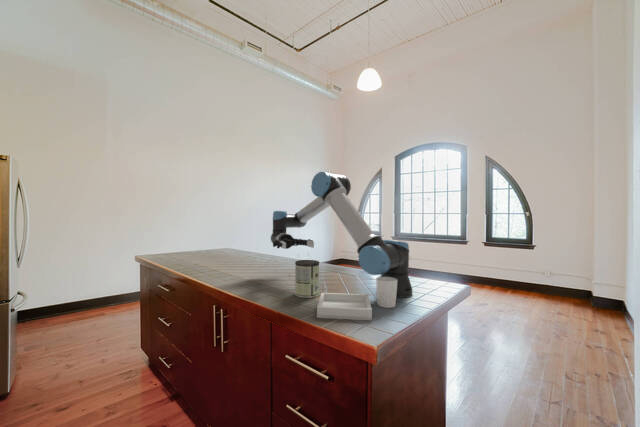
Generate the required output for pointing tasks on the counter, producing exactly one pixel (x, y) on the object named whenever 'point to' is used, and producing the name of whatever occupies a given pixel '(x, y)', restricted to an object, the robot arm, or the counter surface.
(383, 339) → the counter surface
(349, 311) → the tray
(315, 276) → the coffee can
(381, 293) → the white cup
